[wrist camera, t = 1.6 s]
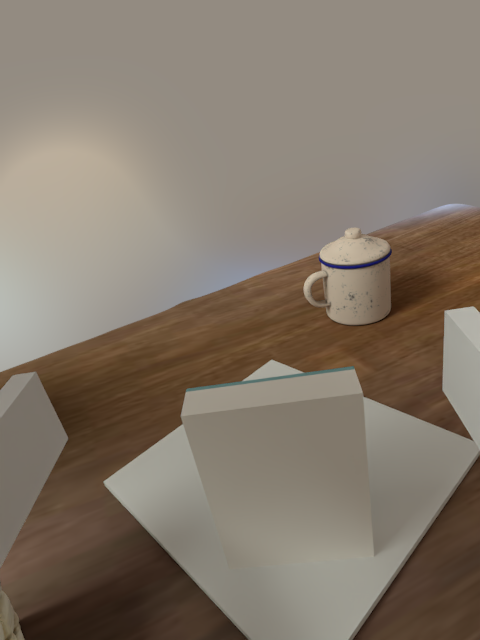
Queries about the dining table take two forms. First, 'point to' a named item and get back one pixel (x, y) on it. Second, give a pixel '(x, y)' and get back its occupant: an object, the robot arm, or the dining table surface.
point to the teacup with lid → (354, 279)
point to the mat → (311, 577)
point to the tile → (284, 466)
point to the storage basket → (8, 620)
